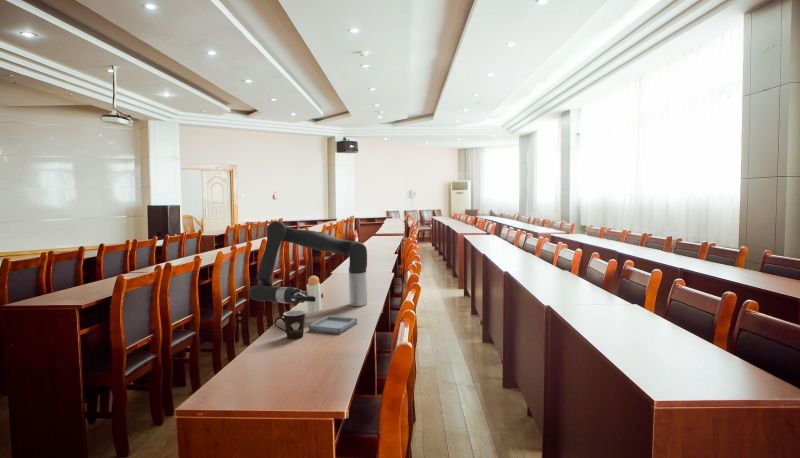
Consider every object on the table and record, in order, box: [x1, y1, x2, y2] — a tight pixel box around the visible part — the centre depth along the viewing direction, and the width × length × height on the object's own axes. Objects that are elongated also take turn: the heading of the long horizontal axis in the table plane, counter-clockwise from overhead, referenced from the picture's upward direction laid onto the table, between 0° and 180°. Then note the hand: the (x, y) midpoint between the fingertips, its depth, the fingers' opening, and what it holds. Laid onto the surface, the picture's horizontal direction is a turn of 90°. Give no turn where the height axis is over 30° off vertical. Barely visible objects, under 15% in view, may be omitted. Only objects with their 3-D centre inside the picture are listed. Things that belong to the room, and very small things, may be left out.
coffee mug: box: [274, 309, 306, 340], centre depth 181 cm, size 12×9×10 cm
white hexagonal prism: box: [306, 282, 323, 313], centre depth 202 cm, size 6×6×12 cm
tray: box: [308, 315, 358, 335], centre depth 193 cm, size 16×15×2 cm
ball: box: [307, 275, 320, 285], centre depth 201 cm, size 5×5×5 cm
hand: (318, 297), depth 201 cm, fingers closed on white hexagonal prism, 6 cm apart
